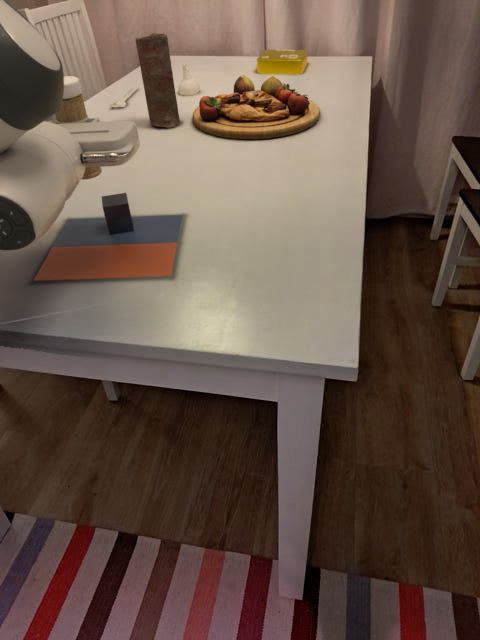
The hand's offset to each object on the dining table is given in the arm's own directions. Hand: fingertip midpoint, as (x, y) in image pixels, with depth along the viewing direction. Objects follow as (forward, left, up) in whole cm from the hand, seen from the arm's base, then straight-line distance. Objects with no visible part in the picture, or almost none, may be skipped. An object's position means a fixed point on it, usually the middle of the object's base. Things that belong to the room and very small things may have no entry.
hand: (76, 124), depth 68 cm
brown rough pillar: (+4, +51, -17) cm, 54 cm away
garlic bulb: (+8, +78, -17) cm, 80 cm away
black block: (+3, -1, -16) cm, 17 cm away
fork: (-10, +74, -17) cm, 77 cm away
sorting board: (+3, -6, -17) cm, 19 cm away
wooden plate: (+27, +53, -17) cm, 62 cm away
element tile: (+37, +102, -17) cm, 110 cm away
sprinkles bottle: (0, -1, -7) cm, 7 cm away
